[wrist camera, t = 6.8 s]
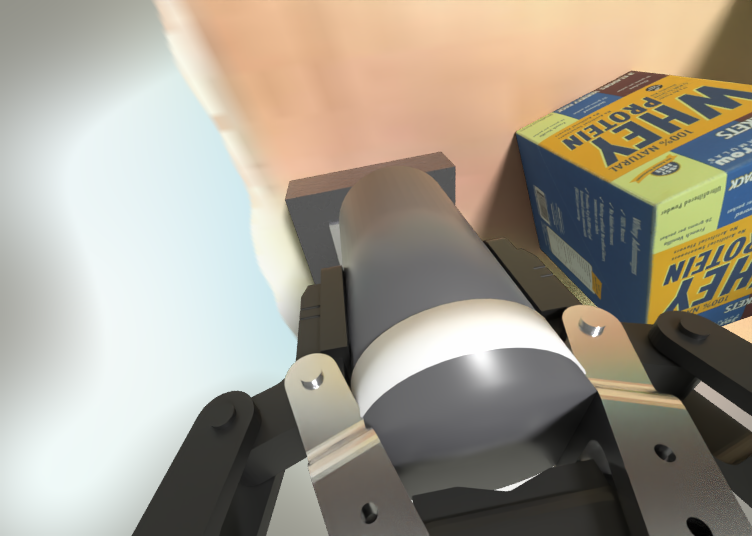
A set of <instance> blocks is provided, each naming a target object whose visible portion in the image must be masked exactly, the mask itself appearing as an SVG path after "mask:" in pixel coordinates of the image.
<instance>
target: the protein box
mask: <svg viewBox="0 0 752 536" xmlns="http://www.w3.org/2000/svg"><path fill="white" fill-rule="evenodd" d="M516 138H517V142H518V146H519V151H520V155H521V160H522V165H523V169H524V174H525V179H526V183H527V188H528V193H529V198H530V202H531V207H532V212H533V217H534V222H535V227H536V232H537V236H538V241H539V245H540V249H541V250H542V251H543V252H544V253H545V254H546V255H547V256H548V257H549V258H550V259H551V260H552V261H553V262H554V263H555V264H556V265H557V266H558V267H559V268H560V269H561V270H562V271H563V272H564V273H565V274H566V276H567V277H568V278H569V279H570V280H571V281H572V282H573V283H574V284H575V285H576V286H577V287H578V288H579V289H580V290H581V291H582V292H583V293H584V294H585V295H586V296H587V297H588V298H589V299H590V300H591V301H592V302H593V303H594V304H595V305H596V306H597V307H598V308H600V309H603V310H605V311H607V312H609V313H610V314H612V315H613V316H614V317H616V318H617V319H618V320H619V321H620V322H627V323H641V324H654V323H655V321H656V319H657V318H658V316H659V315H660V314H662V313H664V312H667V311H685V312H690V313H694V314H697V315H700V316H702V317H705V318H707V319H709V320H711V321H713V322H714V323H716V324H718V325H720V326H724V325H727V324H730V323H733V322H735V321H738V320H741V319H744V318H747V317H750V316H752V85H747V84H740V83H732V82H723V81H715V80H706V79H698V78H689V77H681V76H673V75H665V74H656V73H647V72H638V71H630V72H628V73H626V74H624V75H623V76H621V77H619V78H617V79H615V80H613V81H611V82H609V83H607V84H605V85H603V86H602V87H600V88H598V89H596V90H594V91H592V92H590V93H588V94H586V95H584V96H582V97H581V98H579V99H577V100H575V101H573V102H571V103H569V104H567V105H565V106H563V107H561V108H559V109H558V110H556V111H554V112H552V113H550V114H548V115H546V116H545V117H542V118H541V119H539V120H537V121H535V122H533V123H531V124H529V125H527V126H525V127H524V128H522V129H520V130H518V131H517V132H516Z"/></svg>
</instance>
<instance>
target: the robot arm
mask: <svg viewBox="0 0 752 536" xmlns="http://www.w3.org/2000/svg"><path fill="white" fill-rule="evenodd" d="M483 243H484V244H485V245H486V246H487V248H488V249H489V250H490V252H491V253H492V254H493V256H494V257H495V258H496V259H497V261H498V262H499V263H500V265H501V266H502V267H503V269H504V270H505V271H506V272H507V274H508V275H509V276H510V278H511V279H512V280H513V282H514V283H515V284H516V285H517V287H518V288H519V289H520V291H521V292H522V293H523V295H524V296H525V297H526V298H527V300H528V301H529V302H530V304H531V305H532V306H533V308H534V309H535V310H536V311H537V312H538V313H539V314H540V315H542V316H543V317H544V318H545V319H546V321H547V322H548V323H549V324H550V326H551V327H552V328H553V330H554V331H555V332H556V333H557V335H558V336H559V337H560V339H561V340H562V341H563V342H564V344H565V345H566V346H567V348H568V349H569V350H570V351H571V353H572V354H573V355H574V356H575V358H576V359H577V360H578V362H579V363H580V364H581V366H582V367H583V368H584V369H585V372H586V374H585V375H586V376H587V378H588V379H589V380H590V382H591V383H592V384H593V386H594V387H595V389H596V390H597V393H596V395H595V397H594V398H593V400H592V402H591V404H590V405H589V407H588V409H587V411H586V412H585V414H584V416H583V418H582V420H581V421H580V423H579V425H578V427H577V428H576V430H575V432H574V434H573V435H572V437H571V439H570V441H569V443H568V444H567V446H566V448H565V450H564V451H563V453H562V455H561V457H560V458H559V460H558V462H557V464H556V465H555V466H554V467H551V468H548V469H547V470H545V471H543V472H542V473H540V474H538V475H537V476H535V477H533V478H532V479H530V480H528V481H527V482H525V483H523V484H522V485H520V486H518V487H517V488H515V489H513V490H511V491H496V490H486V489H477V488H467V487H452V488H447V489H442V490H437V491H433V492H428V493H423V494H418V495H413V496H412V500H413V503H412V501H411V499H410V497H409V495H408V493H407V491H406V489H405V487H404V486H403V484H402V482H401V480H400V478H399V476H398V474H397V472H396V470H395V468H394V467H393V465H392V463H391V461H390V459H389V457H388V455H387V453H386V451H385V449H384V448H383V446H382V444H381V442H380V440H379V438H378V436H377V435H376V433H375V431H374V430H373V428H372V427H369V428H366V427H365V424H364V419H363V417H360V408H359V406H358V404H357V402H356V400H355V398H354V397H353V395H352V393H351V388H350V386H351V376H352V374H351V354H350V342H349V330H348V318H347V307H346V295H345V283H344V271H343V267H342V265H340V266H334V267H329V268H323V269H321V284H316V285H310V286H308V287H307V289H306V290H305V292H304V294H303V295H302V297H301V308H300V309H301V311H300V321H299V332H298V344H297V355H296V362H295V363H294V364H293V365H292V366H291V367H290V369H289V370H288V372H287V374H286V377H285V379H283V380H282V381H281V382H280V383H278V384H277V385H275V386H273V387H272V388H269V389H267V390H265V391H263V392H261V393H259V394H257V395H255V396H253V397H250V396H249V395H248V394H246V393H245V392H242V391H231V392H227V393H224V394H222V395H220V396H218V397H216V398H215V399H213V400H212V401H211V402H210V403H208V404H207V405H206V406H205V407H204V408H203V410H202V411H201V412H200V414H199V415H198V417H197V419H196V421H195V422H194V424H193V426H192V428H191V430H190V431H189V433H188V435H187V437H186V439H185V441H184V442H183V444H182V446H181V448H180V450H179V451H178V453H177V455H176V457H175V459H174V460H173V462H172V464H171V466H170V467H169V469H168V471H167V473H166V475H165V476H164V478H163V480H162V482H161V484H160V486H159V487H158V489H157V491H156V493H155V495H154V496H153V498H152V500H151V502H150V504H149V505H148V507H147V509H146V511H145V513H144V514H143V516H142V518H141V520H140V522H139V523H138V525H137V527H136V529H135V531H134V533H133V534H132V536H266V534H267V530H268V527H269V523H270V520H271V517H272V513H273V509H274V506H275V503H276V500H277V496H278V493H279V489H280V486H281V482H282V479H283V475H284V472H285V469H287V468H289V467H291V466H292V465H294V464H296V463H298V462H299V461H301V460H303V459H304V458H306V457H308V462H309V463H308V469H309V473H310V477H311V480H312V484H313V487H314V490H315V493H316V496H317V499H318V503H319V506H320V509H321V512H322V515H323V518H324V522H325V525H326V528H327V531H328V534H329V536H752V526H751V524H750V522H749V521H748V519H747V517H746V515H745V513H744V512H743V510H742V508H741V506H740V504H739V503H738V501H737V499H736V497H735V496H734V494H733V492H734V493H735V494H736V495H737V496H739V497H740V498H741V499H742V500H743V501H744V502H745V503H747V504H748V505H749V506H750V507H751V508H752V432H751V431H750V430H748V429H747V428H746V427H744V426H743V425H742V424H740V423H739V422H737V421H736V420H735V419H733V418H732V417H731V416H729V415H728V414H727V413H725V412H724V411H722V410H721V409H720V408H718V407H717V406H715V405H714V404H713V403H711V402H710V401H709V400H707V399H706V398H705V397H703V396H702V395H700V394H699V393H698V392H696V391H695V390H694V388H695V387H696V386H697V385H698V384H699V383H700V381H702V382H704V383H705V384H707V385H708V386H710V387H711V388H712V389H714V390H715V391H717V392H718V393H719V394H721V395H723V396H724V397H725V398H727V399H728V400H730V401H731V402H732V403H734V404H735V405H737V406H738V407H739V408H741V409H742V410H744V411H745V412H747V413H748V414H749V415H751V416H752V343H750V342H748V341H746V340H744V339H743V338H741V337H739V336H737V335H736V334H734V333H732V332H730V331H729V330H727V329H725V328H723V327H721V326H720V325H718V324H716V323H714V322H713V321H711V320H709V319H707V318H705V317H702V316H700V315H697V314H694V313H690V312H685V311H667V312H664V313H662V314H660V315H659V316H658V318H657V319H656V321H655V323H654V324H641V323H627V322H620V321H619V320H618V319H617V318H616V317H614V316H613V315H612V314H610V313H609V312H607V311H605V310H603V309H600V308H597V307H594V306H589V305H582V304H581V303H580V301H579V300H578V299H577V298H576V297H575V296H574V295H573V294H572V293H571V292H570V291H569V290H568V289H567V288H566V287H565V286H564V285H563V284H562V283H561V282H560V281H559V280H558V278H557V277H556V276H553V273H552V272H551V271H550V270H549V269H548V268H547V267H546V268H545V265H544V264H543V263H542V262H541V261H540V260H539V259H538V258H537V257H536V256H535V255H533V254H531V253H530V252H528V251H526V250H524V249H516V248H515V247H514V246H513V245H512V243H511V242H510V241H509V240H508V239H507V238H505V237H503V238H497V239H491V240H486V241H483ZM732 491H733V492H732Z"/></svg>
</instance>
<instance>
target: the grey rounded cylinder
mask: <svg viewBox="0 0 752 536" xmlns="http://www.w3.org/2000/svg"><path fill="white" fill-rule="evenodd" d="M339 228H340V241H341V253H342V265H343V271H344V283H345V295H346V307H347V318H348V330H349V342H350V354H351V374H352V376H351V386H350V388H351V393H352V395H353V397H354V398H355V400H356V402H357V404H358V406H359V408H360V417H363V419H364V424H365V427H366V428H369V427H372V428H373V430H374V431H375V433H376V435H377V436H378V438H379V440H380V442H381V444H382V446H383V448H384V449H385V451H386V453H387V455H388V457H389V459H390V461H391V463H392V465H393V467H394V468H395V470H396V472H397V474H398V476H399V478H400V480H401V482H402V484H403V486H404V487H405V489H406V491H407V493H408V495H409V497H410V499H411V500H412V496H413V495H418V494H423V493H428V492H433V491H437V490H442V489H447V488H452V487H467V488H477V489H486V490H496V489H499V488H503V487H506V486H509V485H512V484H515V483H517V482H520V481H522V480H525V479H528V478H530V477H533V476H535V475H537V474H539V473H541V472H543V471H545V470H547V469H548V468H551V467H553V466H555V465H556V464H557V462H558V460H559V458H560V457H561V455H562V453H563V451H564V450H565V448H566V446H567V444H568V443H569V441H570V439H571V437H572V435H573V434H574V432H575V430H576V428H577V427H578V425H579V423H580V421H581V420H582V418H583V416H584V414H585V412H586V411H587V409H588V407H589V405H590V404H591V402H592V400H593V398H594V397H595V395H596V393H597V390H596V389H595V387H594V386H593V384H592V383H591V382H590V380H589V379H588V378H587V376H586V375H585V374H586V372H585V369H584V368H583V367H582V366H581V364H580V363H579V362H578V360H577V359H576V358H575V356H574V355H573V354H572V353H571V351H570V350H569V349H568V348H567V346H566V345H565V344H564V342H563V341H562V340H561V339H560V337H559V336H558V335H557V333H556V332H555V331H554V330H553V328H552V327H551V326H550V324H549V323H548V322H547V321H546V319H545V318H544V317H543V316H542V315H540V314H539V313H538V312H537V311H536V310H535V309H534V308H533V306H532V305H531V304H530V302H529V301H528V300H527V298H526V297H525V296H524V295H523V293H522V292H521V291H520V289H519V288H518V287H517V285H516V284H515V283H514V282H513V280H512V279H511V278H510V276H509V275H508V274H507V272H506V271H505V270H504V269H503V267H502V266H501V265H500V263H499V262H498V261H497V259H496V258H495V257H494V256H493V254H492V253H491V252H490V250H489V249H488V248H487V246H486V245H485V244H484V243H483V241H482V240H481V239H480V237H479V236H478V235H477V233H476V232H475V231H474V230H473V228H472V227H471V226H470V224H469V223H468V222H467V220H466V219H465V218H464V217H463V215H462V214H461V213H460V211H459V210H458V209H457V207H456V206H455V205H454V203H453V202H452V201H451V200H450V198H449V197H448V196H447V194H446V193H445V192H444V190H443V189H442V188H441V187H440V185H439V184H438V183H437V181H436V180H434V179H433V178H432V177H431V176H430V175H428V174H427V173H425V172H423V171H421V170H419V169H416V168H413V167H407V166H390V167H385V168H381V169H378V170H375V171H373V172H371V173H369V174H367V175H366V176H364V177H363V178H361V179H360V180H359V181H358V182H357V183H356V184H354V186H353V187H352V188H351V189H350V190H349V192H348V193H347V195H346V196H345V198H344V201H343V203H342V206H341V209H340V214H339Z"/></svg>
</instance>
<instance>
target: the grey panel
mask: <svg viewBox="0 0 752 536" xmlns="http://www.w3.org/2000/svg"><path fill="white" fill-rule="evenodd" d="M390 166H407V167H413V168H416V169H419V170H421V171H423V172H425V173H427V174H428V175H430V176H431V177H432V178H433V179H434V180H436V181H437V183H438V184H439V185H440V187H441V188H442V189H443V190H444V192H445V193H446V194H447V196H448V197H449V198H450V200H451V201H452V202H453V203H454V205H455V165H454V164H453V163H452V162H451V161H450V160H449V159H448V158H447V157H446V156H445V155H444V154H443V153H442V152H437V153H432V154H427V155H422V156H417V157H411V158H406V159H401V160H396V161H391V162H386V163H381V164H375V165H370V166H365V167H360V168H355V169H350V170H345V171H339V172H334V173H329V174H324V175H319V176H314V177H309V178H304V179H298V180H293V181H290V182H289V186H288V190H287V194H286V198H285V201H286V204H287V206H288V209H289V212H290V215H291V218H292V221H293V223H294V226H295V229H296V232H297V235H298V238H299V240H300V243H301V246H302V249H303V252H304V254H305V257H306V260H307V263H308V266H309V269H310V271H311V274H312V277H313V280H314V283H315V285H316V284H321V269H323V268H329V267H334V266H340V265H342V253H341V241H340V228H339V214H340V209H341V206H342V203H343V201H344V198H345V196H346V195H347V193H348V192H349V190H350V189H351V188H352V187H353V186H354V184H356V183H357V182H358V181H359V180H360V179H361V178H363V177H364V176H366V175H367V174H369V173H371V172H373V171H375V170H378V169H381V168H385V167H390ZM342 267H343V265H342Z"/></svg>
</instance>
